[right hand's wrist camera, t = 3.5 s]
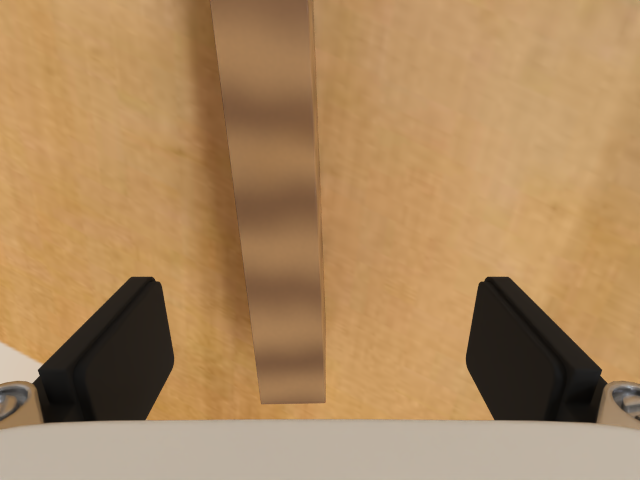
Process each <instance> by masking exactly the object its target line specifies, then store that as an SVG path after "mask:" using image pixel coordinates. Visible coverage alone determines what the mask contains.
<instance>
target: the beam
mask: <svg viewBox="0 0 640 480" xmlns="http://www.w3.org/2000/svg"><path fill="white" fill-rule="evenodd" d="M210 5H211V13H212V21H213V29H214V37H215V45H216V53H217V61H218V68H219V76H220V84H221V92H222V100H223V108H224V116H225V123H226V131H227V139H228V147H229V155H230V163H231V171H232V179H233V186H234V194H235V202H236V210H237V218H238V226H239V234H240V242H241V249H242V257H243V265H244V273H245V281H246V289H247V297H248V305H249V312H250V320H251V328H252V336H253V344H254V352H255V360H256V367H257V375H258V383H259V391H260V399H261V404H300V403H325V402H326V323H325V297H324V271H323V246H322V220H321V194H320V169H319V143H318V117H317V92H316V66H315V40H314V15H313V0H210Z"/></svg>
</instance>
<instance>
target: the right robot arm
mask: <svg viewBox="0 0 640 480" xmlns="http://www.w3.org/2000/svg"><path fill="white" fill-rule="evenodd" d="M173 365H174V353H173V348H172V342H171V336H170V330H169V325H168V319H167V313H166V308H165V302H164V296H163V290H162V286H161V283H160V282H156V281H155V279H154V278H153V277H131V278H130V279H129V280H128V281H127V282H126V283H125V284H124V285H123V286H122V287H121V288H120V289H119V290H118V291H117V292H116V293H115V294H114V295H113V296H112V297H111V298H110V299H109V300H108V301H107V302H106V303H105V304H104V305H103V306H101V307H100V308H99V309H98V310H97V311H96V312H95V313H94V314H93V315H92V316H91V317H90V318H89V319H88V320H87V321H86V322H85V323H84V324H83V325H82V326H81V327H80V328H79V329H78V330H77V331H76V332H75V333H74V334H73V335H72V336H71V337H70V338H69V339H68V340H67V341H66V342H65V343H64V344H63V345H62V346H61V347H60V348H59V349H58V350H57V351H56V352H55V353H54V354H53V355H52V356H51V357H50V358H49V359H48V360H47V361H46V362H45V363H44V364H43V365H42V366H41V367H40V368H39V369H38V372H39V375H40V376H39V377H38V378H37V379H36V380H35V381H34V382H33V383H29V382H26V381H13V382H7V383H3V384H0V480H640V384H637V383H634V382H627V381H614V382H611V383H607V382H606V381H605V380H604V379H603V378H602V377H601V376H600V375H601V372H602V369H601V368H600V367H599V366H598V365H597V364H596V363H595V362H594V361H593V360H592V359H591V358H590V357H589V356H588V355H587V354H586V353H585V352H584V351H583V350H582V349H581V348H580V347H579V346H578V345H577V344H576V343H575V342H574V341H573V340H572V339H571V338H570V337H569V336H568V335H567V334H566V333H565V332H564V331H563V330H562V329H561V328H560V327H559V326H558V325H557V324H556V323H555V322H554V321H553V320H552V319H551V318H550V317H549V316H548V315H547V314H546V313H545V312H544V311H543V310H542V309H541V308H540V307H538V306H537V305H536V304H535V303H534V302H533V301H532V300H531V299H530V298H529V297H528V296H527V295H526V294H525V293H524V292H523V291H522V290H521V289H520V288H519V287H518V286H517V285H516V284H515V283H514V282H513V281H512V280H511V279H510V278H509V277H487V278H486V279H485V281H484V282H480V283H479V286H478V290H477V296H476V302H475V308H474V313H473V319H472V325H471V330H470V336H469V342H468V348H467V353H466V365H467V368H468V371H469V372H470V374H471V376H472V378H473V380H474V382H475V384H476V386H477V388H478V390H479V391H480V393H481V395H482V397H483V399H484V401H485V403H486V405H487V407H488V409H489V410H490V412H491V414H492V416H493V418H494V420H375V419H263V420H146V418H147V416H148V414H149V412H150V410H151V409H152V407H153V405H154V403H155V401H156V399H157V397H158V395H159V393H160V391H161V390H162V388H163V386H164V384H165V382H166V380H167V378H168V376H169V374H170V372H171V371H172V368H173Z"/></svg>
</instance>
